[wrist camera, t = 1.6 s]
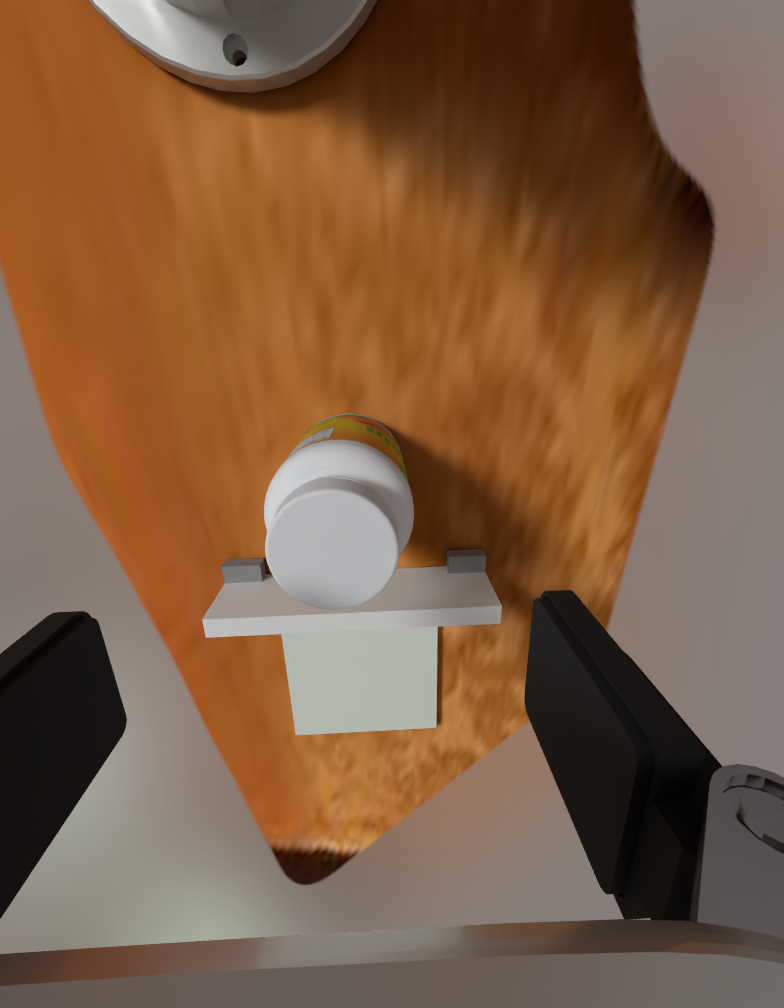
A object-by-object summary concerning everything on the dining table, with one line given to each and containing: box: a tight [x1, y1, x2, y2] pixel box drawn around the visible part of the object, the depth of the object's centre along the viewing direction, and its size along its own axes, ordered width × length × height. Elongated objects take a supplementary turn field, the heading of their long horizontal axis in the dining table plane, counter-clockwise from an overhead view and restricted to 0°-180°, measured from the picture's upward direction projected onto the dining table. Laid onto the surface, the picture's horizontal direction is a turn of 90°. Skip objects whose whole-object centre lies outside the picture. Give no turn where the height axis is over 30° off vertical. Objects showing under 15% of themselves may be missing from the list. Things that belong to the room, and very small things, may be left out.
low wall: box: [202, 549, 502, 638], centre depth 22 cm, size 3×14×4 cm, turn 92°
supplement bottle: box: [264, 414, 414, 610], centre depth 17 cm, size 5×5×10 cm
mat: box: [282, 627, 438, 735], centre depth 26 cm, size 9×9×1 cm
